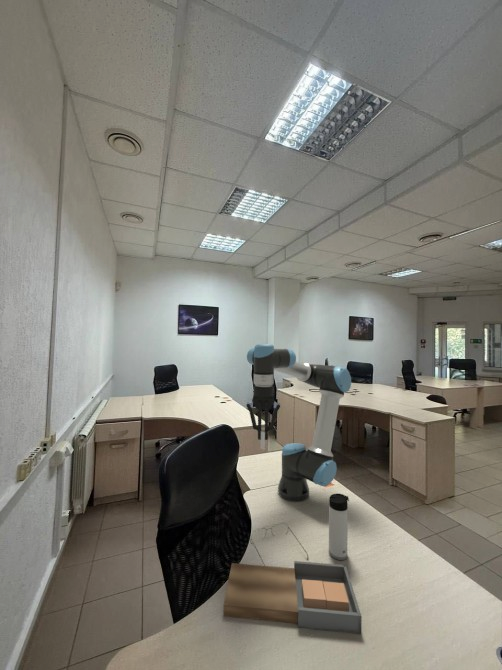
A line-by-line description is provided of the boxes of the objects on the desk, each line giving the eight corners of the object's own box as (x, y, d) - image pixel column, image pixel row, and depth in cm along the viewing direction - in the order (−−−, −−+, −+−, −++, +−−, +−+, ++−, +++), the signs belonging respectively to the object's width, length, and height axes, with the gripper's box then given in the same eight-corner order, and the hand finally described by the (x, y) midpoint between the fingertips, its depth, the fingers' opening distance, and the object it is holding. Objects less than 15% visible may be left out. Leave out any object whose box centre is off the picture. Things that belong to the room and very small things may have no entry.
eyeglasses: (286, 532, 108) (286, 519, 108) (308, 561, 94) (308, 546, 94) (248, 544, 102) (248, 530, 102) (266, 576, 88) (266, 560, 88)
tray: (294, 575, 88) (294, 560, 88) (345, 579, 86) (345, 565, 86) (298, 627, 72) (298, 609, 72) (361, 633, 70) (361, 616, 71)
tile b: (322, 589, 82) (322, 581, 82) (343, 591, 81) (343, 583, 81) (326, 609, 76) (326, 600, 76) (348, 611, 75) (348, 602, 75)
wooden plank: (231, 572, 89) (231, 563, 89) (294, 577, 87) (294, 568, 87) (223, 615, 75) (223, 604, 75) (298, 623, 73) (298, 611, 73)
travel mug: (349, 562, 93) (350, 502, 93) (329, 559, 94) (329, 500, 95) (347, 548, 99) (347, 492, 100) (328, 545, 101) (328, 490, 101)
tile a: (301, 587, 82) (301, 579, 82) (322, 589, 82) (322, 580, 82) (304, 607, 76) (304, 598, 77) (326, 609, 76) (326, 599, 76)
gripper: (245, 386, 100) (244, 451, 100) (281, 387, 99) (280, 453, 99) (247, 383, 108) (246, 443, 108) (280, 384, 107) (280, 445, 106)
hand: (262, 448), depth 103 cm, fingers closed
